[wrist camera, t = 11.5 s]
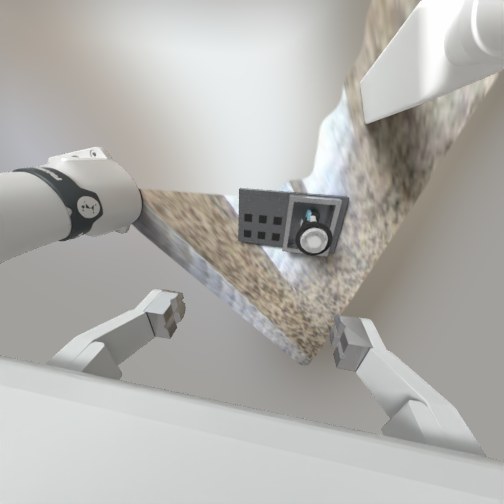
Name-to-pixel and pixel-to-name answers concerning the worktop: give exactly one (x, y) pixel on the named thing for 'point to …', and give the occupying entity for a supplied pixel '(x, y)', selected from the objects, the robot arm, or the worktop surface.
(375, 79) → the white bottle
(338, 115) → the worktop surface
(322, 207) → the organizer
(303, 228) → the push button
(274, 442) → the robot arm
